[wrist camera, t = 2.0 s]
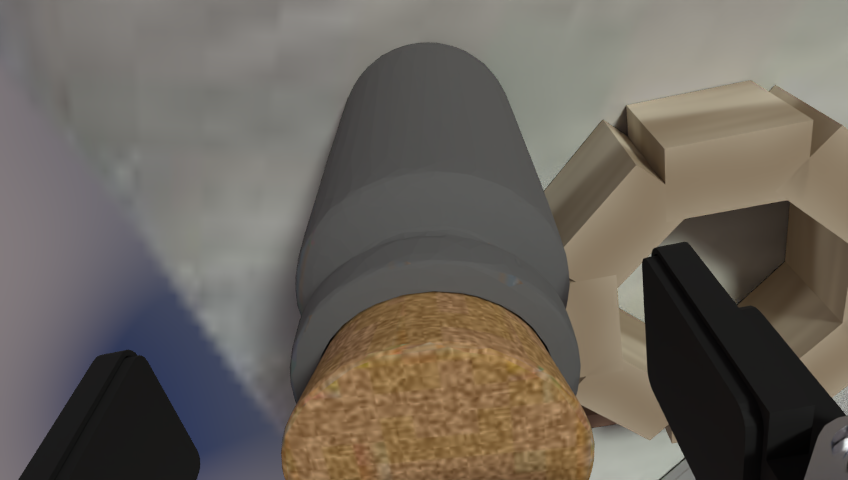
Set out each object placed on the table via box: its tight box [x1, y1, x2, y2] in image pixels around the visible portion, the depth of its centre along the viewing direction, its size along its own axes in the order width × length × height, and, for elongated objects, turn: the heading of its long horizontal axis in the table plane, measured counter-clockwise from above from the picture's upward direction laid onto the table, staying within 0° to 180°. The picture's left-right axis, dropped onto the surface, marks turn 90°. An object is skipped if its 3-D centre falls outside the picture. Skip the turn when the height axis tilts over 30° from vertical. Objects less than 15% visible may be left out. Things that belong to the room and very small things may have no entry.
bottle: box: [281, 43, 594, 480], centre depth 16 cm, size 6×6×15 cm
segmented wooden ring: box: [544, 80, 848, 443], centre depth 23 cm, size 12×12×4 cm
